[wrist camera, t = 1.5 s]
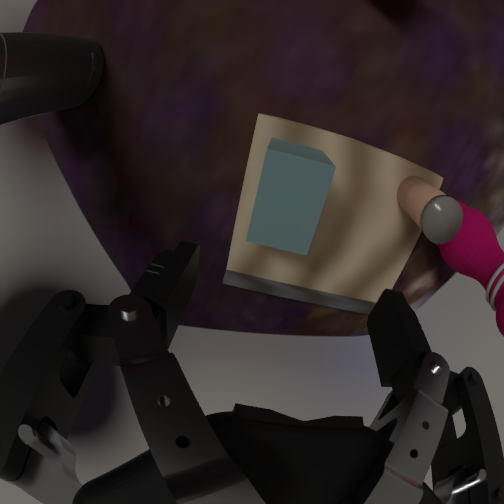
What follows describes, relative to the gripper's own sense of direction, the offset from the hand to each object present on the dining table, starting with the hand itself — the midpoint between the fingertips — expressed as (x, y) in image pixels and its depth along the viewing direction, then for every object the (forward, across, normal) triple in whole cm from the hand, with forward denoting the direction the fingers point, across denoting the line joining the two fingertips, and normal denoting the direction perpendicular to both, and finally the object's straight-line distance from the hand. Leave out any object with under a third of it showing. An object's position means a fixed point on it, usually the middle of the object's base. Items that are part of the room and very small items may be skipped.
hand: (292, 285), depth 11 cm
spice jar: (+16, -13, -2) cm, 21 cm away
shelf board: (+18, -6, +4) cm, 19 cm away
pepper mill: (+18, -21, -1) cm, 27 cm away
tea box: (+16, 0, 0) cm, 16 cm away
